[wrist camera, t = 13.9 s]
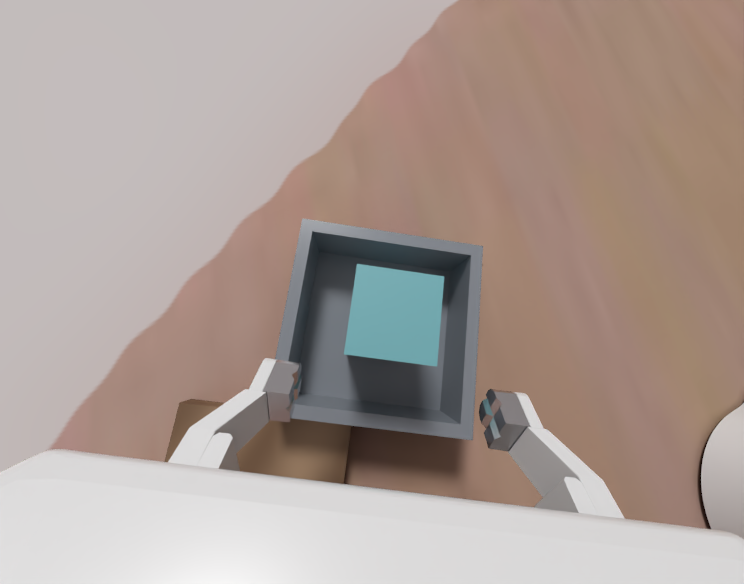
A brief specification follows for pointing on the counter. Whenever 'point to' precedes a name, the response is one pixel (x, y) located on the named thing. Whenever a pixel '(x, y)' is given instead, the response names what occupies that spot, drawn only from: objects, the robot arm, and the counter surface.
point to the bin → (370, 375)
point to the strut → (395, 315)
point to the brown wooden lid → (279, 445)
